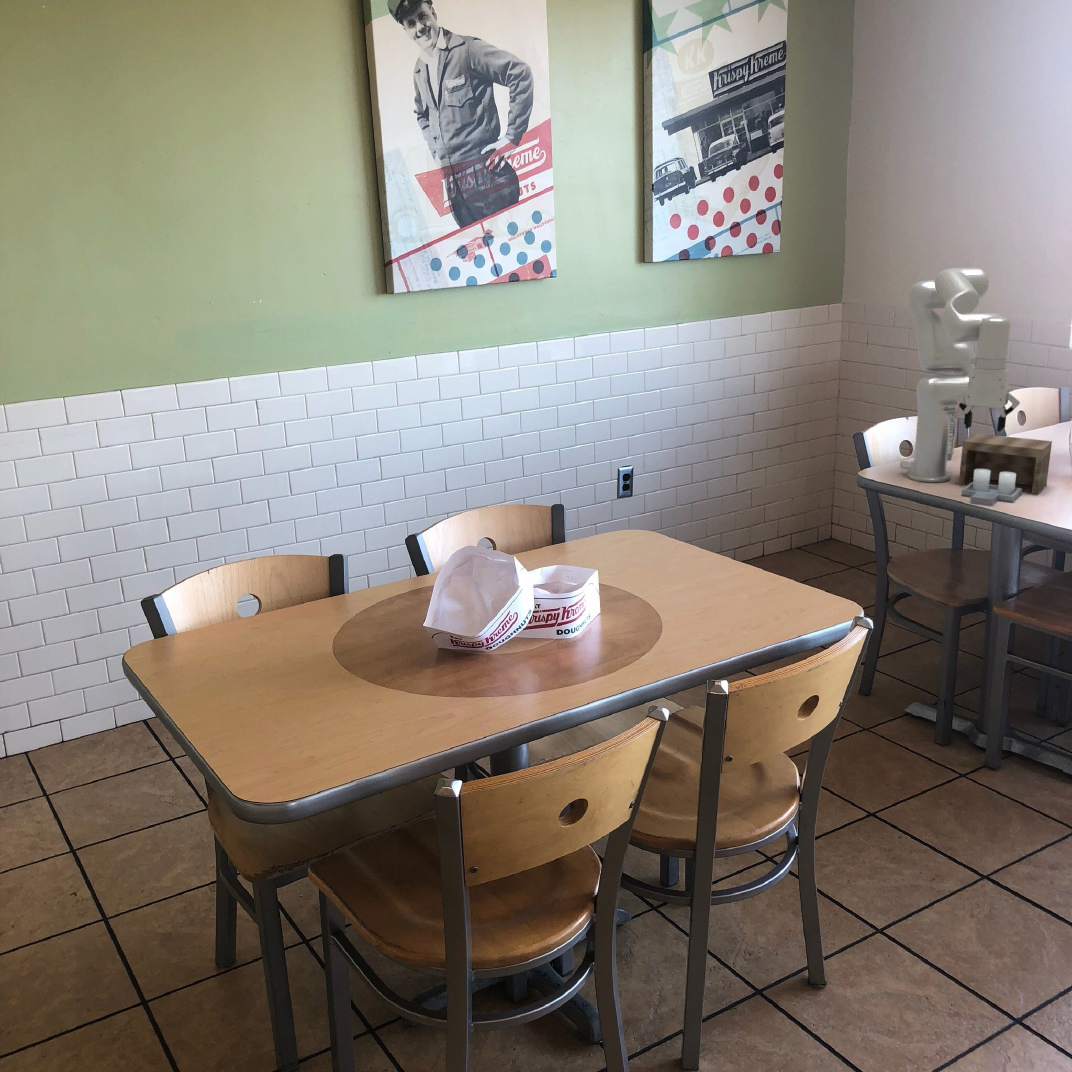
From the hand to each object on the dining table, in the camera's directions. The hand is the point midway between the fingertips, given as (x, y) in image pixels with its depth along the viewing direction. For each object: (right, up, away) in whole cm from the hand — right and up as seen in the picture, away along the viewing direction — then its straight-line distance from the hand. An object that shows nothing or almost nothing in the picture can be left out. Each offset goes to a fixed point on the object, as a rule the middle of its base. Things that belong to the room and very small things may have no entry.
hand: (984, 428), depth 287 cm
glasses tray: (+9, -18, +18) cm, 27 cm away
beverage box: (+14, -2, +66) cm, 67 cm away
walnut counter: (+18, -14, +30) cm, 37 cm away
